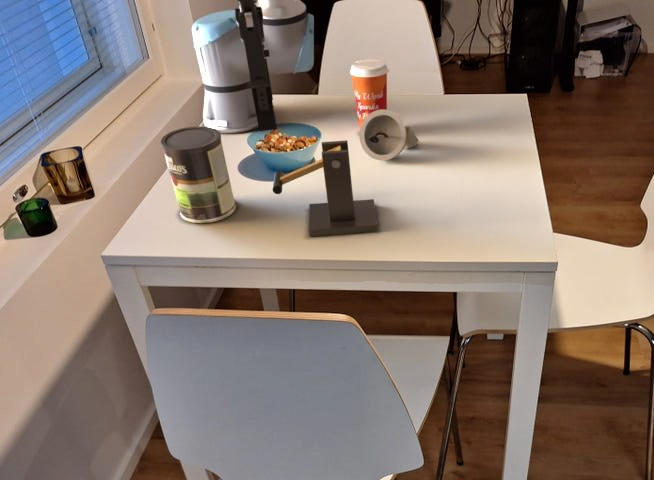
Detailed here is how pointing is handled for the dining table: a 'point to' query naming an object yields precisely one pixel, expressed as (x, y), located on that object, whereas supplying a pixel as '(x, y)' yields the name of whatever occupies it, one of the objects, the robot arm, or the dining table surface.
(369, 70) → the coffee cup
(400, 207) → the dining table surface
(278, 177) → the switch lever
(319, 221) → the stand
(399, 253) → the dining table surface
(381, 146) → the light fixture
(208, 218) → the coffee can
